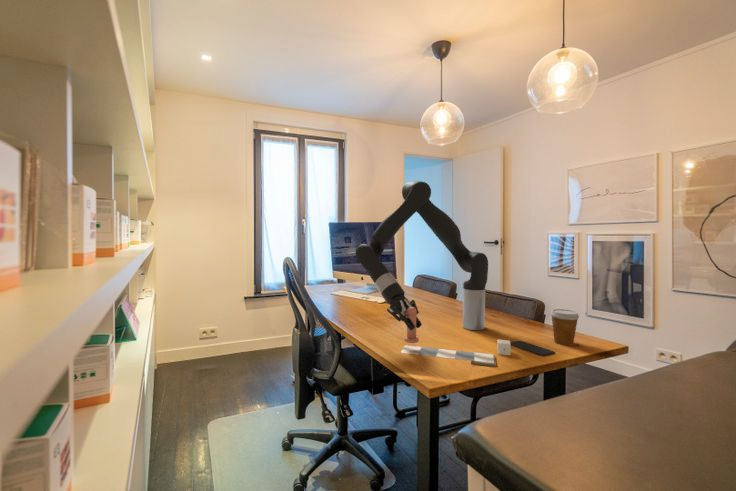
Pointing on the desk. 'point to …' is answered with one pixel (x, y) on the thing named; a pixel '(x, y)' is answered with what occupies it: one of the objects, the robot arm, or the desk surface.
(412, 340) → the pawn
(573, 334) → the disposable coffee cup
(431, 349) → the board
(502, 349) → the die
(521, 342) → the phone
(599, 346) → the desk surface
